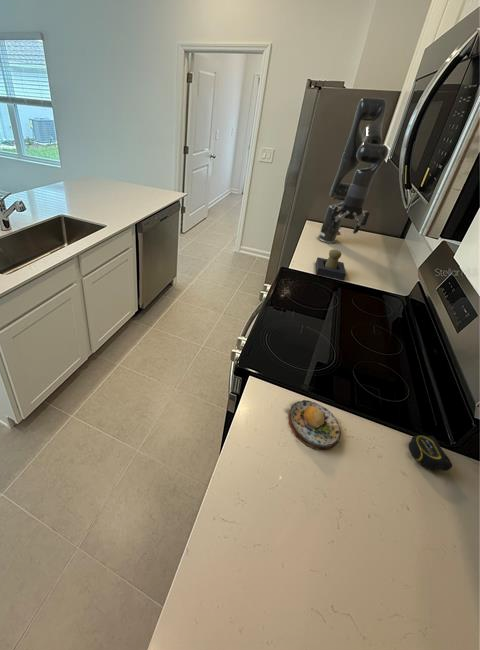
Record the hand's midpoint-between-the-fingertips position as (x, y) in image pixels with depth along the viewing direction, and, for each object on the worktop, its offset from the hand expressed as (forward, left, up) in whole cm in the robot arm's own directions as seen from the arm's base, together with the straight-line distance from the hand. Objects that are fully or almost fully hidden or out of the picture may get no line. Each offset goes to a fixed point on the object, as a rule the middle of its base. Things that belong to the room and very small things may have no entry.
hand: (343, 231), depth 136 cm
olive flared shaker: (0, 0, -21) cm, 21 cm away
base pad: (0, 0, -21) cm, 21 cm away
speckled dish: (+88, -9, -21) cm, 91 cm away
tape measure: (+86, +16, -21) cm, 90 cm away
